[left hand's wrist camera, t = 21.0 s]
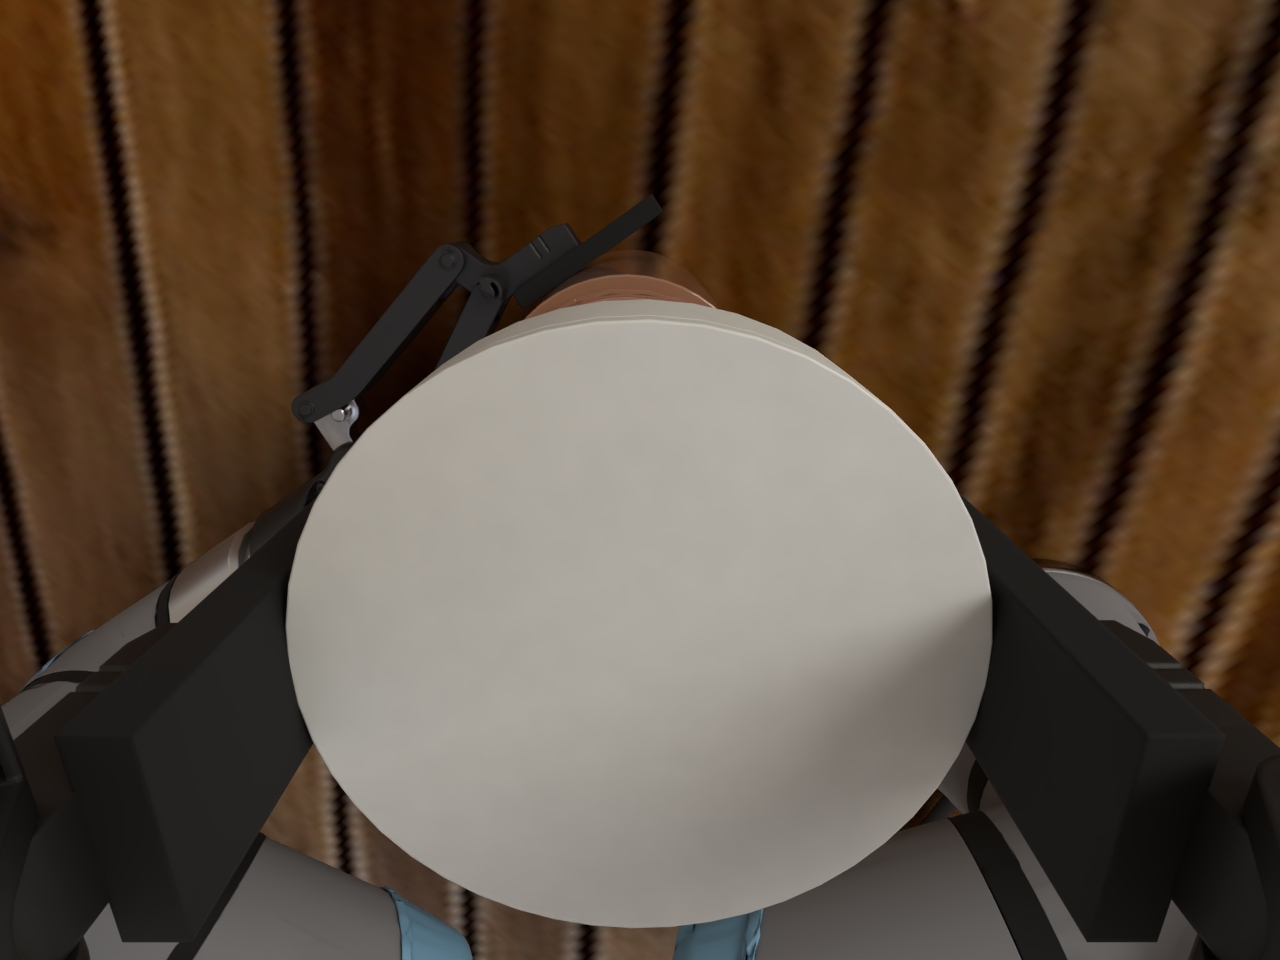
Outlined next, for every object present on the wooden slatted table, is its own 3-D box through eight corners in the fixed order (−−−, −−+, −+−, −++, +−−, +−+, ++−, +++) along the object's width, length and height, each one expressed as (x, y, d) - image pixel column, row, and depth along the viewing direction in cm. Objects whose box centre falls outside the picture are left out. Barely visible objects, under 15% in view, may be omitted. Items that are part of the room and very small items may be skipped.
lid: (1055, 611, 12) (1131, 685, 10) (629, 909, 14) (628, 1014, 13) (653, 142, 10) (657, 128, 8) (217, 591, 12) (141, 662, 10)
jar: (506, 308, 36) (421, 374, 22) (667, 213, 35) (685, 219, 21) (599, 459, 39) (576, 604, 25) (752, 377, 38) (819, 481, 23)
